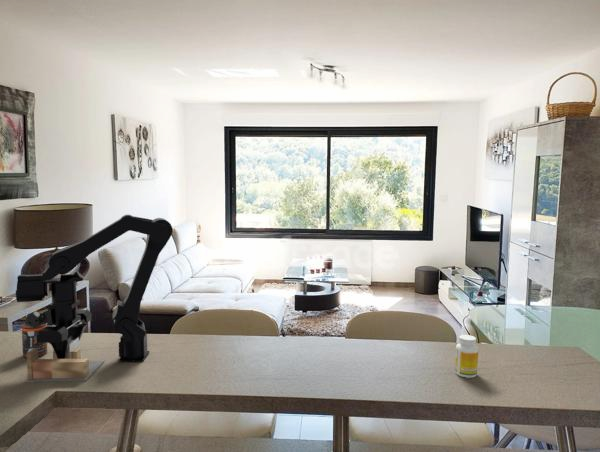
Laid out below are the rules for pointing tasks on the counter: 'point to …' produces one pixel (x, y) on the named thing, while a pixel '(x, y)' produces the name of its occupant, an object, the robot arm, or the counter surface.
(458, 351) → the supplement bottle
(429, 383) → the counter surface
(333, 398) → the counter surface
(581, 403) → the counter surface
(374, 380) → the counter surface
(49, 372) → the block
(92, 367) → the mat
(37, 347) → the supplement bottle
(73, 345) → the rough concrete cube
